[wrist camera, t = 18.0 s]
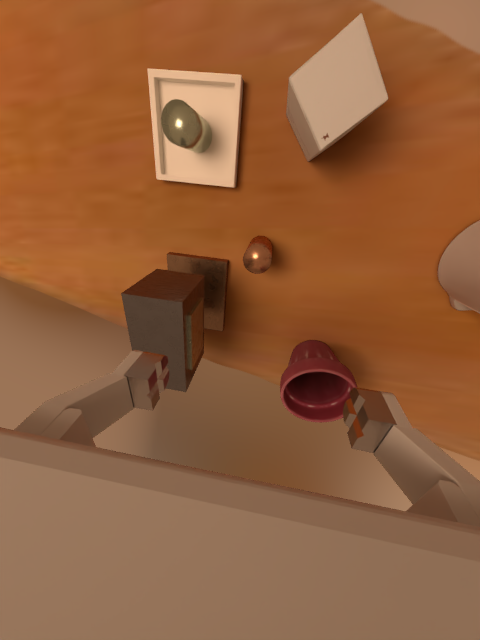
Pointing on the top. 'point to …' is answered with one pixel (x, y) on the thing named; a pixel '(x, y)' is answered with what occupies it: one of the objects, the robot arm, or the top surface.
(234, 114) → the tray
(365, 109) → the supplement box
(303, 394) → the plant pot
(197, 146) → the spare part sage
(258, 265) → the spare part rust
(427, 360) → the top surface
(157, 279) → the mounted unit
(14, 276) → the top surface
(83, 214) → the top surface
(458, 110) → the top surface
